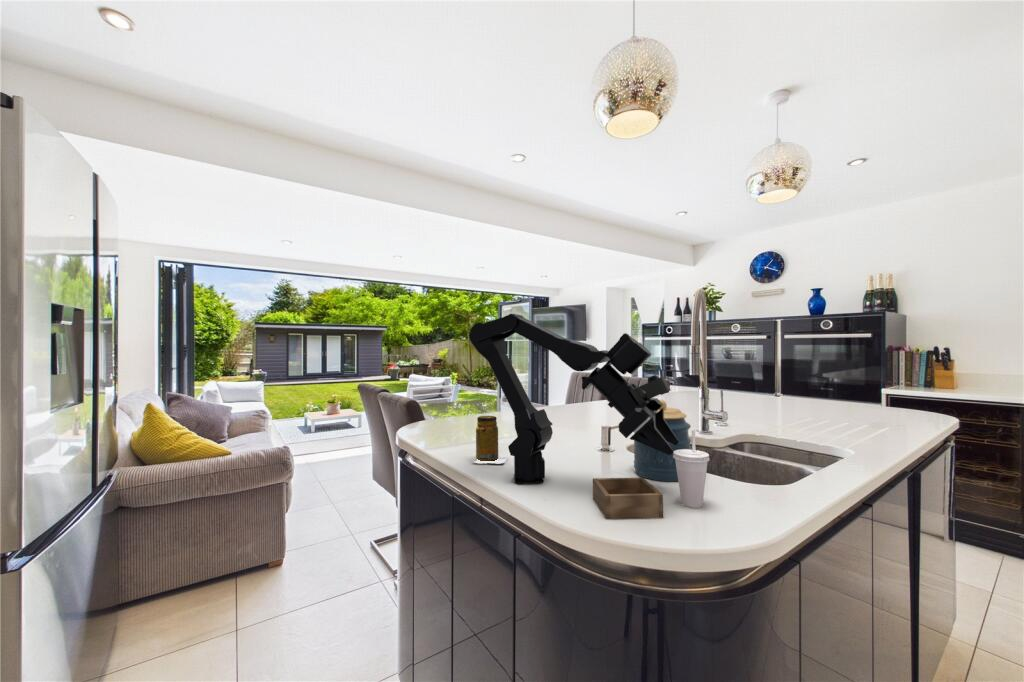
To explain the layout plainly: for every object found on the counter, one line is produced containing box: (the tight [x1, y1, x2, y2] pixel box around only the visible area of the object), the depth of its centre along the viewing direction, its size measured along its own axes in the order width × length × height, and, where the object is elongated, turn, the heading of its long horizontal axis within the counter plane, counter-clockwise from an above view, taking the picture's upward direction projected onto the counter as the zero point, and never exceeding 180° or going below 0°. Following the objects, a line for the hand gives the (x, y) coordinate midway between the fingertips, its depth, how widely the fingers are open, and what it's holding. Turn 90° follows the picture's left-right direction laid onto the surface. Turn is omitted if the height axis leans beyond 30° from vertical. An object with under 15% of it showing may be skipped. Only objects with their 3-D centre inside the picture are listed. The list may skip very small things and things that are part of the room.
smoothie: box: [673, 429, 710, 509], centre depth 79 cm, size 6×6×14 cm
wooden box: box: [592, 476, 665, 520], centre depth 77 cm, size 10×10×4 cm
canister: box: [633, 399, 692, 482], centre depth 98 cm, size 13×13×18 cm
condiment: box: [475, 415, 499, 461], centre depth 111 cm, size 7×8×12 cm
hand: (674, 448), depth 80 cm, fingers open, 9 cm apart
